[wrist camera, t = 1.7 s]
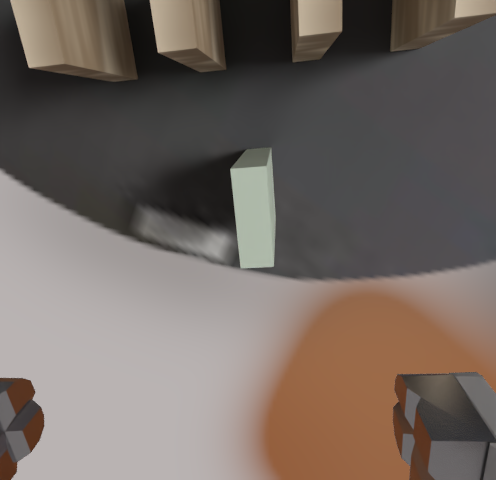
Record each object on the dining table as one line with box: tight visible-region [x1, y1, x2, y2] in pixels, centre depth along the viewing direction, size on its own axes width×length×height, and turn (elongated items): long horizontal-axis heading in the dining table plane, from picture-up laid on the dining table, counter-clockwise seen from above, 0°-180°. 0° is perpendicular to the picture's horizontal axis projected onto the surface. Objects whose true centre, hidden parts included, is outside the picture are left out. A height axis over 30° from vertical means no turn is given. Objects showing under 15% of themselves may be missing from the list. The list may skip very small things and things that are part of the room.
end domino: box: [230, 147, 276, 268], centre depth 25 cm, size 2×6×10 cm, turn 5°
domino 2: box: [150, 0, 226, 72], centre depth 21 cm, size 2×6×10 cm, turn 5°
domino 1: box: [10, 0, 138, 82], centre depth 22 cm, size 2×6×10 cm, turn 5°
